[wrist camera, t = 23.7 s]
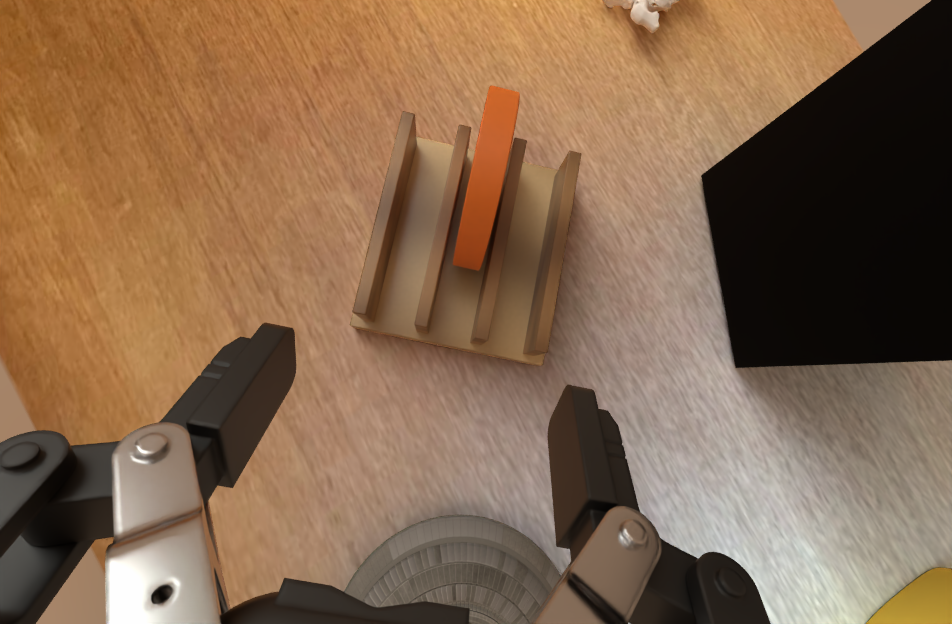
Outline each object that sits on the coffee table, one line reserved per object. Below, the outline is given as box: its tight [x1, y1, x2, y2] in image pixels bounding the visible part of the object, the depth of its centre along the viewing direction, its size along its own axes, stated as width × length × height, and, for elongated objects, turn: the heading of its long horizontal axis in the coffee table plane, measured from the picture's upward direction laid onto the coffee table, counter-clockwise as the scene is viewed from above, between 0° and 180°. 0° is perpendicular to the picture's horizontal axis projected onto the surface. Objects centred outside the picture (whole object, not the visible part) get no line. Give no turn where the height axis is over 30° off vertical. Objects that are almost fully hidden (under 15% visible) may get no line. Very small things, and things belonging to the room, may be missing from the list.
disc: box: [453, 86, 520, 271], centre depth 25 cm, size 2×10×10 cm, turn 169°
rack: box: [350, 111, 581, 366], centre depth 29 cm, size 14×13×5 cm
